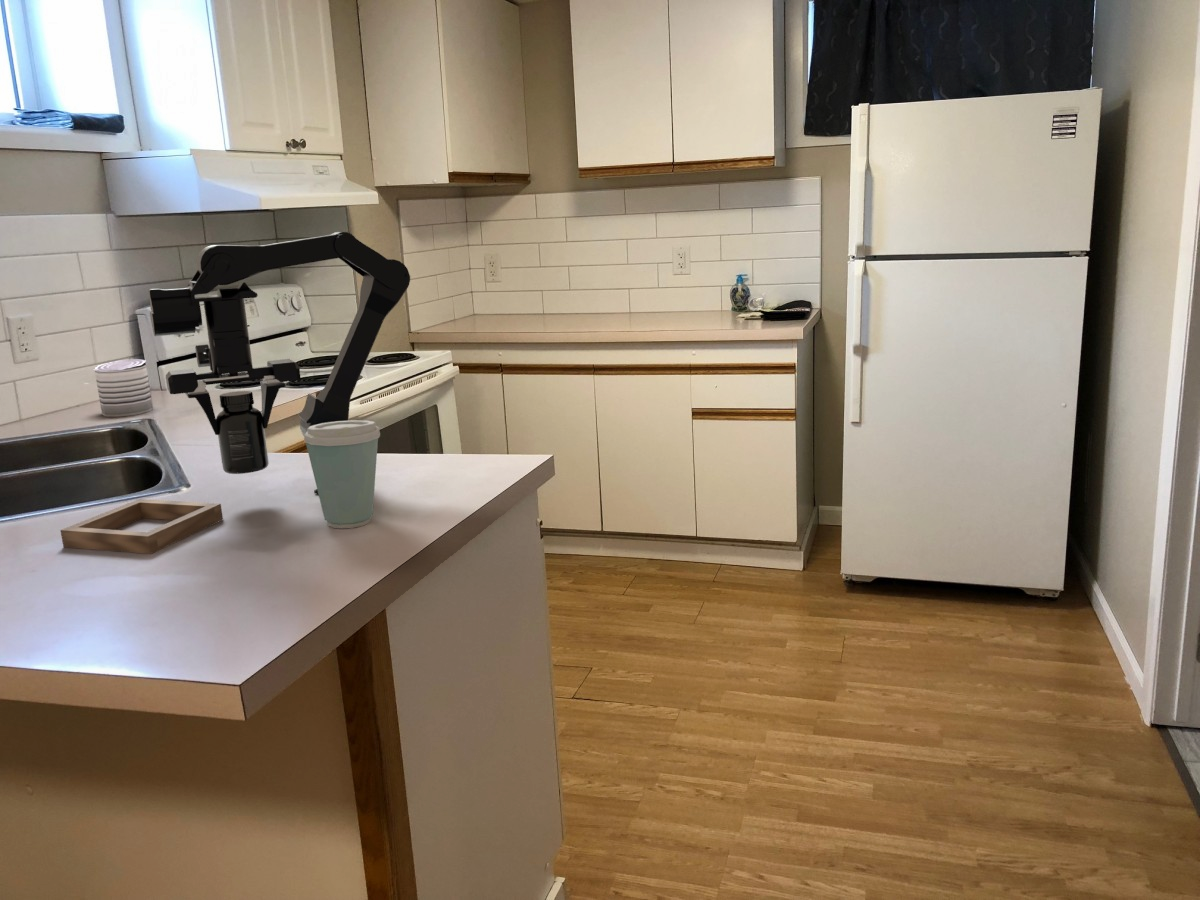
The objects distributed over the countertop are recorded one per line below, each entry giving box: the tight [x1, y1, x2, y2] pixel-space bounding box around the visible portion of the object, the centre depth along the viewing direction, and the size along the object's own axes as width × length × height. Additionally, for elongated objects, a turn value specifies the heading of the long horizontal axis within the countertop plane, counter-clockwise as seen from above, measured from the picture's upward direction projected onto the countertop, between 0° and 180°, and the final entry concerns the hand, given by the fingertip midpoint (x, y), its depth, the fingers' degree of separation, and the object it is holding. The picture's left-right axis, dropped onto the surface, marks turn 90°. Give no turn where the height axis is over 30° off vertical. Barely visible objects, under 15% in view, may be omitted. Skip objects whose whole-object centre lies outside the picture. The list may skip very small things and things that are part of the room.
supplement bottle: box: [215, 390, 269, 475], centre depth 151 cm, size 7×7×12 cm
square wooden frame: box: [59, 498, 224, 555], centre depth 141 cm, size 15×15×2 cm
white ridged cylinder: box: [92, 358, 154, 418], centre depth 235 cm, size 11×11×12 cm
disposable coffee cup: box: [303, 419, 381, 529], centre depth 141 cm, size 11×11×15 cm
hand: (241, 431), depth 151 cm, fingers closed on supplement bottle, 7 cm apart
